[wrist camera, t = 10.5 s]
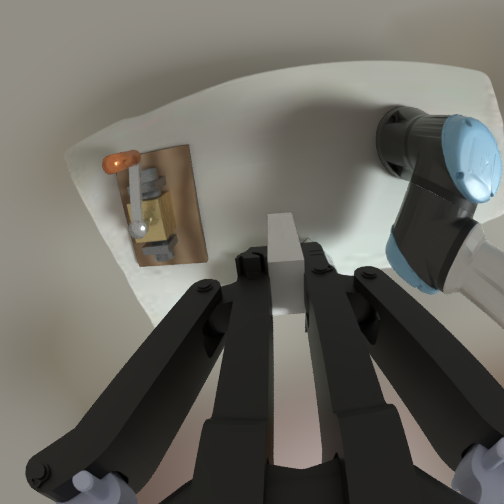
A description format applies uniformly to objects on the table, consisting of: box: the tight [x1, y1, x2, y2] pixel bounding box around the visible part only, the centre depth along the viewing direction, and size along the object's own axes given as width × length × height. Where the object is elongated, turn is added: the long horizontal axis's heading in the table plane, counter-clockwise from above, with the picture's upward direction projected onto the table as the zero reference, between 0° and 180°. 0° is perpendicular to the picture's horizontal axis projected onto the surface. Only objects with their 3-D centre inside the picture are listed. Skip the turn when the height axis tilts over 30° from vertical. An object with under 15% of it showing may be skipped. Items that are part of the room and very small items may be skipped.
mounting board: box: [116, 145, 208, 267], centre depth 52 cm, size 16×24×2 cm, turn 6°
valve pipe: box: [127, 167, 178, 262], centre depth 48 cm, size 6×18×9 cm, turn 6°
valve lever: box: [102, 150, 149, 239], centre depth 37 cm, size 15×3×8 cm, turn 176°
